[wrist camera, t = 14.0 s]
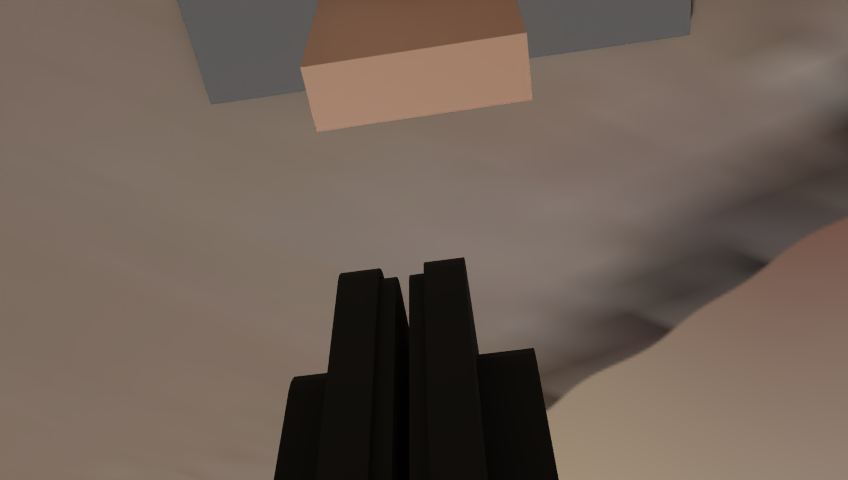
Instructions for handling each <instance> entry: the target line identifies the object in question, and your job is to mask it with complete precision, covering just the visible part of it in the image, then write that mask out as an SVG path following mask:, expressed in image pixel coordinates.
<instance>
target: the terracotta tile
mask: <svg viewBox="0 0 848 480" xmlns="http://www.w3.org/2000/svg"><path fill="white" fill-rule="evenodd" d="M300 69H301V72H302V76H303V80H304V84H305V88H306V92H307V96H308V100H309V103H310V107H311V111H312V115H313V119H314V123H315V127H316V131H317V132H319V131H325V130H332V129H339V128H346V127H352V126H359V125H366V124H373V123H379V122H386V121H393V120H400V119H407V118H413V117H420V116H427V115H434V114H440V113H447V112H454V111H461V110H467V109H474V108H481V107H488V106H494V105H501V104H508V103H515V102H521V101H528V100H532V88H531V76H530V65H529V53H528V42H527V32H526V29H525V26H524V23H523V20H522V17H521V14H520V10H519V7H518V4H517V1H516V0H319V1H318V5H317V9H316V12H315V16H314V19H313V23H312V27H311V30H310V34H309V37H308V41H307V45H306V48H305V52H304V56H303V59H302V63H301V66H300Z"/></svg>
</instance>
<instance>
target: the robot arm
mask: <svg viewBox="0 0 848 480" xmlns="http://www.w3.org/2000/svg"><path fill="white" fill-rule="evenodd" d="M274 480H559V479H558V474H557V469H556V463H555V458H554V452H553V447H552V441H551V436H550V430H549V425H548V420H547V414H546V409H545V403H544V398H543V393H542V387H541V382H540V376H539V371H538V366H537V360H536V355H535V351H534V348H530V349H522V350H513V351H505V352H497V353H488V354H480V355H479V351H478V344H477V337H476V331H475V324H474V318H473V311H472V304H471V298H470V291H469V285H468V278H467V271H466V265H465V259H464V257H463V258H455V259H448V260H440V261H432V262H425V263H424V274H416V275H410V276H409V325H408V321H407V316H406V311H405V306H404V302H403V297H402V292H401V288H400V283H399V280H398V278H397V277H393V278H385V279H384V276H383V273H382V270H381V269H380V268H378V269H371V270H363V271H355V272H348V273H341V274H340V275H339V279H338V287H337V295H336V304H335V312H334V321H333V329H332V338H331V346H330V355H329V364H328V372H327V373H323V374H315V375H306V376H298V377H294V378H293V380H292V381H291V384H290V388H289V393H288V399H287V405H286V410H285V416H284V422H283V428H282V434H281V440H280V446H279V452H278V458H277V464H276V470H275V476H274Z"/></svg>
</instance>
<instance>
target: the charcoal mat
mask: <svg viewBox="0 0 848 480" xmlns="http://www.w3.org/2000/svg"><path fill="white" fill-rule="evenodd" d="M177 1H178V4H179V7H180V10H181V13H182V16H183V20H184V23H185V26H186V29H187V32H188V35H189V38H190V41H191V44H192V47H193V50H194V53H195V56H196V59H197V62H198V65H199V68H200V72H201V75H202V78H203V81H204V84H205V87H206V90H207V93H208V96H209V99H210V102H211V104H218V103H225V102H232V101H239V100H245V99H252V98H259V97H266V96H273V95H280V94H287V93H294V92H300V91H306V88H305V84H304V80H303V76H302V72H301V69H300V66H301V63H302V59H303V56H304V52H305V48H306V45H307V41H308V37H309V34H310V30H311V27H312V23H313V19H314V16H315V12H316V9H317V5H318V1H319V0H177ZM516 1H517V4H518V7H519V10H520V14H521V17H522V20H523V23H524V26H525V29H526V32H527V42H528V53H529V58H534V57H541V56H548V55H555V54H562V53H569V52H576V51H582V50H589V49H596V48H603V47H610V46H617V45H624V44H631V43H637V42H644V41H651V40H658V39H665V38H672V37H679V36H686V35H690V17H691V0H516Z"/></svg>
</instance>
